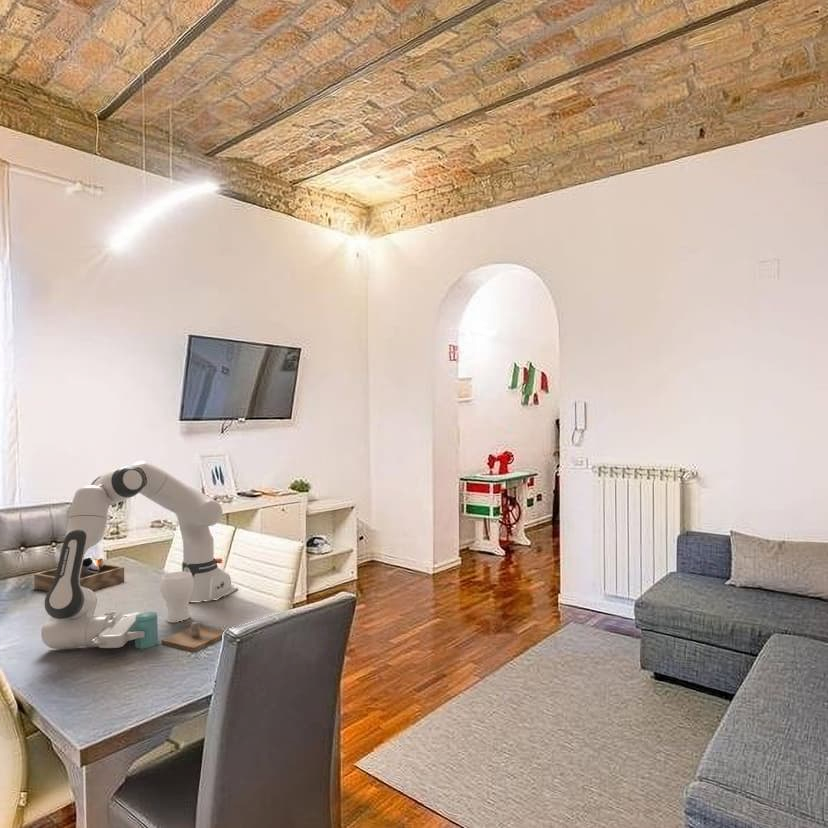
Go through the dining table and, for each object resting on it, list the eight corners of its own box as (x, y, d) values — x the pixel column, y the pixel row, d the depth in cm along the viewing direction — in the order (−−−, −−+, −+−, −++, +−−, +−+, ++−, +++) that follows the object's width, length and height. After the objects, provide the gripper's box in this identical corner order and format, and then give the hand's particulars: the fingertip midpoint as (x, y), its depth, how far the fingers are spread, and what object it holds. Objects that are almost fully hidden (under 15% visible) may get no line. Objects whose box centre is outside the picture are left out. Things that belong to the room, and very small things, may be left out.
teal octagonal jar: (148, 639, 186) (147, 610, 186) (161, 642, 184) (161, 613, 184) (131, 646, 181) (131, 616, 181) (145, 649, 178) (144, 619, 178)
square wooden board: (196, 628, 195) (196, 612, 195) (228, 635, 189) (228, 619, 189) (161, 644, 182) (160, 627, 182) (194, 651, 176) (194, 634, 176)
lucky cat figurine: (82, 577, 256) (98, 548, 257) (97, 591, 251) (114, 562, 252) (50, 576, 243) (67, 545, 244) (65, 591, 238) (82, 560, 238)
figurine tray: (86, 574, 261) (86, 560, 260) (124, 581, 249) (124, 567, 249) (34, 588, 241) (34, 574, 240) (73, 596, 229) (72, 581, 229)
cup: (174, 626, 197) (173, 581, 197) (154, 620, 203) (153, 577, 202) (201, 616, 206) (200, 573, 206) (181, 611, 212) (180, 569, 211)
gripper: (87, 633, 170) (138, 630, 172) (113, 609, 190) (158, 606, 192) (88, 655, 170) (139, 651, 172) (113, 629, 190) (158, 626, 193)
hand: (149, 627), depth 183 cm, fingers open, 8 cm apart
